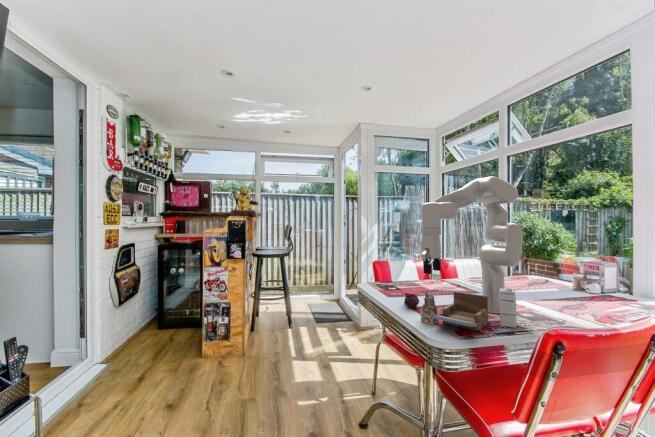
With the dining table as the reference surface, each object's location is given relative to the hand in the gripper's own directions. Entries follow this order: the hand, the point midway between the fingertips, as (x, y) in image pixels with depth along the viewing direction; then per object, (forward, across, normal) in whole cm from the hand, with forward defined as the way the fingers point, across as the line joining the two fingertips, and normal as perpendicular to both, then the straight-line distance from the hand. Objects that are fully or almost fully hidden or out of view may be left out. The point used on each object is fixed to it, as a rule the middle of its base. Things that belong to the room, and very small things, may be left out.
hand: (432, 272), depth 124 cm
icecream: (+22, -17, -18) cm, 33 cm away
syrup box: (+22, -19, +24) cm, 38 cm away
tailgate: (+19, -3, +10) cm, 21 cm away
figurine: (+22, -2, -3) cm, 22 cm away
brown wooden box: (+22, -10, +10) cm, 26 cm away
